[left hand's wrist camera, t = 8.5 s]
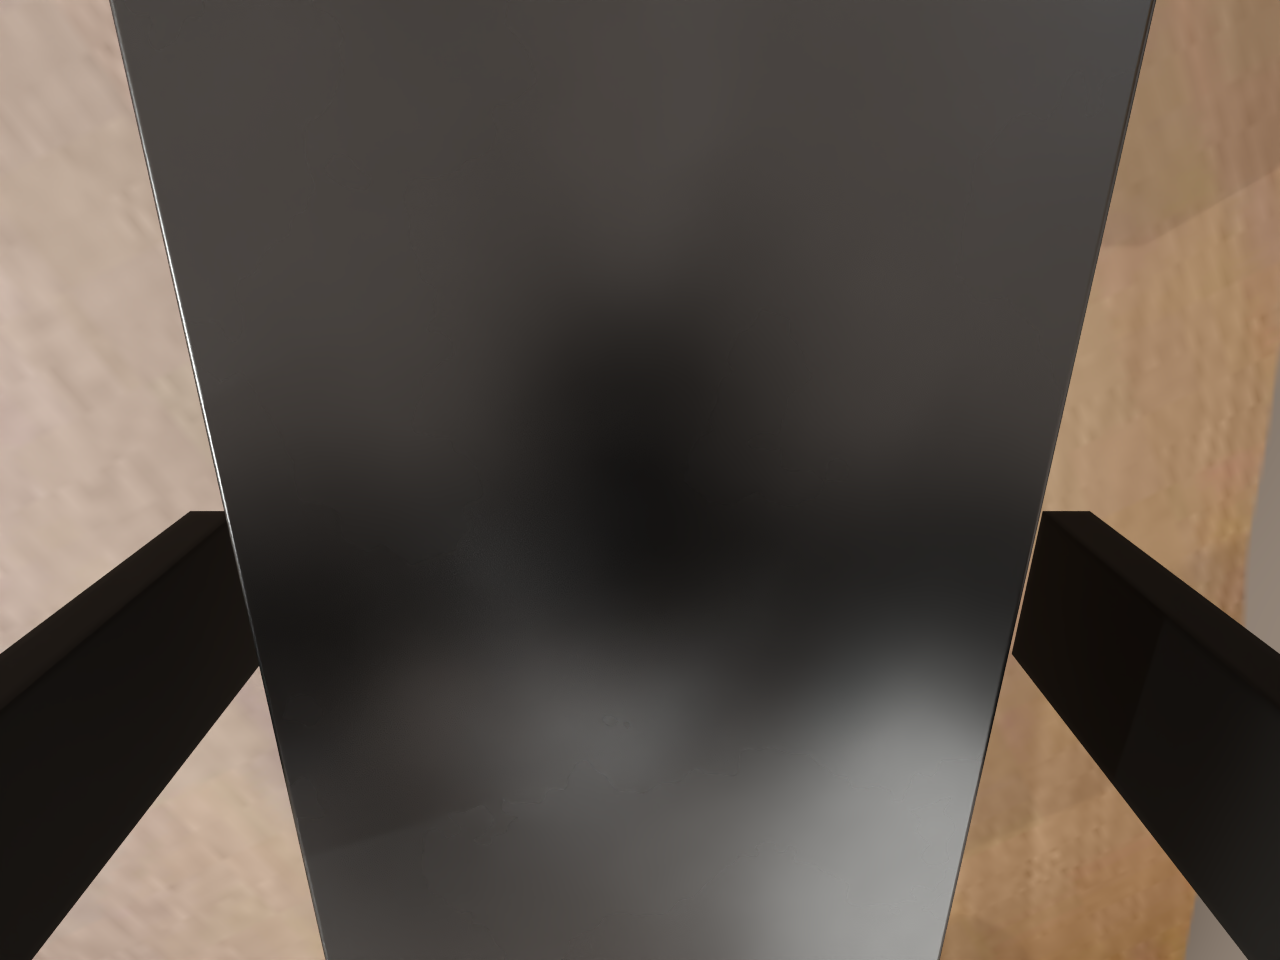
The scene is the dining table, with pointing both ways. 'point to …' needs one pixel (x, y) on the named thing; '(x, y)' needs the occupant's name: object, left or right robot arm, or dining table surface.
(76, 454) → the dining table surface
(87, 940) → the dining table surface
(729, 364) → the bar
